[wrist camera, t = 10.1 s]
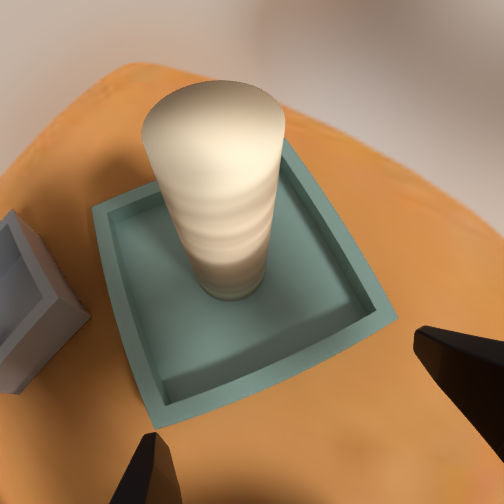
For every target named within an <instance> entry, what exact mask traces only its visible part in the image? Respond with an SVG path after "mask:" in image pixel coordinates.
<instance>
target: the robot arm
mask: <svg viewBox="0 0 504 504" xmlns="http://www.w3.org/2000/svg"><path fill="white" fill-rule="evenodd" d="M413 350H414V353H415V354H416V356H417V357H418V359H419V360H420V361H421V363H422V364H423V366H424V367H425V368H426V370H427V371H428V373H429V374H430V375H431V377H432V378H433V380H434V381H435V382H436V383H437V385H438V386H439V387H440V388H441V389H442V390H443V392H444V393H445V394H446V395H447V396H448V397H449V398H450V399H451V401H452V402H453V403H454V404H455V405H456V406H457V408H458V409H459V410H460V411H461V412H462V413H463V414H464V416H465V417H466V418H467V419H468V420H469V421H470V423H471V424H472V425H473V426H474V427H475V429H476V430H477V431H478V432H479V433H480V435H481V436H482V437H483V438H484V439H485V441H486V442H487V443H488V444H489V445H490V447H491V448H492V449H493V450H494V452H495V453H496V454H497V455H498V457H499V458H500V459H501V460H502V462H503V463H504V341H498V340H493V339H488V338H483V337H478V336H473V335H468V334H464V333H459V332H454V331H449V330H444V329H440V328H435V327H431V326H422V327H420V328H419V329H417V330H416V331H415V333H414V344H413ZM109 504H182V498H181V492H180V488H179V484H178V480H177V477H176V473H175V469H174V465H173V461H172V457H171V453H170V450H169V447H168V446H167V444H166V443H165V442H164V441H163V439H162V438H161V437H160V436H159V434H158V433H156V432H153V433H148V434H145V435H144V436H143V437H142V439H141V441H140V443H139V445H138V447H137V449H136V451H135V453H134V455H133V457H132V459H131V461H130V463H129V465H128V467H127V469H126V471H125V473H124V475H123V477H122V479H121V481H120V483H119V485H118V487H117V489H116V491H115V493H114V495H113V497H112V499H111V501H110V503H109Z"/></svg>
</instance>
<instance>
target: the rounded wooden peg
mask: <svg viewBox="0 0 504 504" xmlns="http://www.w3.org/2000/svg"><path fill="white" fill-rule="evenodd" d="M284 130H285V115H284V112H283V110H282V108H281V106H280V104H279V103H278V102H277V101H276V100H275V99H274V98H273V97H272V96H271V95H269V94H268V93H267V92H265V91H263V90H261V89H260V88H257V87H255V86H252V85H249V84H246V83H241V82H236V81H224V80H219V81H206V82H201V83H196V84H192V85H189V86H186V87H183V88H181V89H178V90H176V91H174V92H172V93H171V94H169V95H167V96H166V97H164V98H163V99H161V100H160V101H159V102H158V103H157V104H156V105H155V106H154V107H153V108H152V109H151V110H150V112H149V113H148V115H147V116H146V118H145V120H144V123H143V126H142V141H143V145H144V147H145V150H146V153H147V156H148V158H149V161H150V164H151V167H152V169H153V172H154V175H155V177H156V180H157V182H158V185H159V188H160V190H161V193H162V195H163V198H164V201H165V203H166V206H167V208H168V211H169V213H170V216H171V218H172V221H173V223H174V226H175V228H176V231H177V233H178V235H179V238H180V240H181V243H182V245H183V247H184V250H185V252H186V254H187V257H188V259H189V261H190V264H191V266H192V268H193V271H194V273H195V275H196V278H197V280H198V282H199V284H200V286H201V287H202V289H203V290H204V291H205V292H206V293H207V294H208V295H210V296H211V297H213V298H215V299H218V300H221V301H227V302H233V301H239V300H242V299H245V298H247V297H249V296H250V295H251V294H253V293H254V292H255V291H256V290H257V289H258V288H259V286H260V285H261V283H262V280H263V278H264V273H265V267H266V260H267V253H268V246H269V239H270V232H271V225H272V218H273V211H274V204H275V197H276V190H277V183H278V175H279V168H280V161H281V153H282V146H283V138H284Z"/></svg>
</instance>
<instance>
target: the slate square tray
mask: <svg viewBox="0 0 504 504" xmlns="http://www.w3.org/2000/svg"><path fill="white" fill-rule="evenodd" d="M90 318H91V315H90V314H89V313H88V311H87V310H86V308H85V307H84V306H83V304H82V303H81V301H80V300H79V298H78V297H77V295H76V294H75V292H74V291H73V289H72V288H71V286H70V285H69V283H68V282H67V280H66V278H65V277H64V275H63V274H62V272H61V270H60V269H59V267H58V266H57V264H56V262H55V261H54V259H53V257H52V255H51V254H50V252H49V250H48V249H47V247H46V245H45V243H44V241H43V240H42V238H41V236H40V235H39V234H38V233H37V232H36V231H35V230H34V229H33V228H32V227H31V226H30V225H29V224H28V223H27V222H25V221H24V220H23V219H22V218H21V217H20V216H19V215H18V214H17V213H16V212H15V211H14V210H13V209H12V210H11V211H10V212H9V213H8V214H7V215H6V216H5V217H4V218H3V219H2V220H1V222H0V393H8V394H17V395H19V394H20V393H21V392H22V390H23V389H24V388H25V387H26V386H27V385H28V384H29V382H30V381H31V380H32V379H33V378H34V377H35V376H36V375H37V374H38V372H39V371H40V370H41V369H42V368H43V367H44V366H45V365H46V364H47V363H48V362H49V360H50V359H51V358H52V357H53V356H54V355H55V354H56V353H57V352H58V351H59V350H60V349H61V348H62V347H63V346H64V345H65V344H66V342H67V341H68V340H69V339H70V338H71V337H72V336H73V335H74V334H75V333H76V332H77V331H78V330H79V329H80V328H81V327H82V326H83V325H84V324H85V323H86V322H87V321H88V320H89V319H90Z"/></svg>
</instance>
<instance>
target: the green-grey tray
mask: <svg viewBox="0 0 504 504" xmlns="http://www.w3.org/2000/svg"><path fill="white" fill-rule="evenodd" d="M92 213H93V220H94V226H95V232H96V237H97V243H98V248H99V253H100V258H101V263H102V267H103V272H104V276H105V281H106V285H107V289H108V293H109V297H110V301H111V305H112V308H113V312H114V316H115V319H116V323H117V326H118V330H119V333H120V336H121V340H122V343H123V346H124V349H125V352H126V355H127V358H128V361H129V364H130V367H131V370H132V373H133V376H134V379H135V381H136V384H137V387H138V389H139V392H140V395H141V397H142V400H143V402H144V405H145V407H146V410H147V412H148V415H149V417H150V419H151V422H152V424H153V426H154V429H155V430H156V429H159V428H162V427H166V426H169V425H172V424H175V423H178V422H181V421H184V420H187V419H190V418H193V417H196V416H199V415H201V414H204V413H207V412H210V411H212V410H215V409H218V408H220V407H223V406H225V405H228V404H231V403H233V402H236V401H238V400H241V399H243V398H245V397H248V396H250V395H253V394H255V393H257V392H260V391H262V390H264V389H266V388H269V387H271V386H273V385H275V384H278V383H280V382H282V381H284V380H286V379H288V378H290V377H293V376H295V375H297V374H299V373H301V372H303V371H305V370H307V369H309V368H311V367H313V366H315V365H317V364H319V363H321V362H323V361H325V360H327V359H329V358H330V357H332V356H334V355H336V354H338V353H340V352H342V351H343V350H345V349H347V348H349V347H351V346H352V345H354V344H356V343H358V342H359V341H361V340H363V339H365V338H366V337H368V336H370V335H372V334H373V333H375V332H377V331H378V330H380V329H382V328H383V327H385V326H386V325H388V324H390V323H391V322H393V321H395V320H396V319H398V316H397V314H396V312H395V311H394V309H393V307H392V305H391V303H390V301H389V299H388V298H387V296H386V294H385V292H384V290H383V288H382V287H381V285H380V283H379V281H378V280H377V278H376V276H375V274H374V273H373V271H372V269H371V267H370V266H369V264H368V262H367V261H366V259H365V257H364V255H363V254H362V252H361V250H360V249H359V247H358V246H357V244H356V242H355V241H354V239H353V237H352V236H351V234H350V232H349V231H348V229H347V228H346V226H345V225H344V223H343V221H342V220H341V218H340V217H339V215H338V214H337V212H336V210H335V209H334V207H333V206H332V204H331V203H330V201H329V200H328V198H327V197H326V195H325V194H324V192H323V191H322V189H321V188H320V186H319V185H318V183H317V182H316V180H315V179H314V178H313V176H312V175H311V173H310V172H309V170H308V169H307V167H306V166H305V165H304V163H303V162H302V160H301V159H300V158H299V156H298V155H297V153H296V152H295V151H294V149H293V148H292V147H291V145H290V144H289V142H288V141H287V140H286V138H283V146H282V153H281V161H280V168H279V175H278V183H277V190H276V197H275V204H274V211H273V218H272V225H271V232H270V239H269V246H268V253H267V260H266V267H265V273H264V278H263V280H262V283H261V285H260V286H259V288H258V289H257V290H256V291H255V292H254V293H253V294H251V295H250V296H249V297H247V298H245V299H242V300H239V301H233V302H227V301H221V300H218V299H215V298H213V297H211V296H210V295H208V294H207V293H206V292H205V291H204V290H203V289H202V287H201V286H200V284H199V282H198V280H197V278H196V275H195V273H194V271H193V268H192V266H191V264H190V261H189V259H188V257H187V254H186V252H185V250H184V247H183V245H182V243H181V240H180V238H179V235H178V233H177V231H176V228H175V226H174V223H173V221H172V218H171V216H170V213H169V211H168V208H167V206H166V203H165V201H164V198H163V195H162V193H161V190H160V188H159V185H158V182H157V180H155V181H152V182H150V183H147V184H145V185H142V186H140V187H137V188H135V189H133V190H130V191H128V192H125V193H123V194H121V195H118V196H116V197H114V198H111V199H109V200H107V201H104V202H102V203H100V204H98V205H95V206H93V207H92Z"/></svg>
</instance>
